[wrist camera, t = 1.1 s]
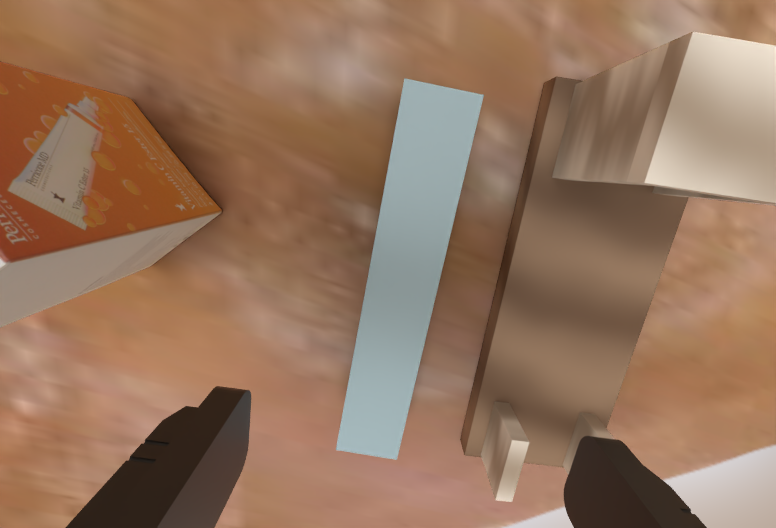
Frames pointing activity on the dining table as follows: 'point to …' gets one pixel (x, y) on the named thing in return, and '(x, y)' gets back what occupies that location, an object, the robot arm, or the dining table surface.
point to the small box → (83, 192)
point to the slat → (407, 262)
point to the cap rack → (608, 235)
